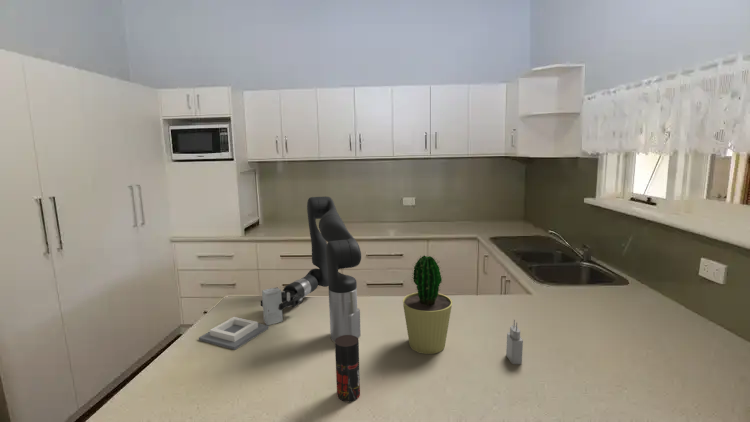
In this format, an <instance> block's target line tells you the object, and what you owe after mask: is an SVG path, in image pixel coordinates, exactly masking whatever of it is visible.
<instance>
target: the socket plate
mask: <svg viewBox="0 0 750 422" xmlns="http://www.w3.org/2000/svg"><path fill="white" fill-rule="evenodd" d="M269 326H270V325H266V324H262V323H260V322H259V321H256V320H255V321H254V320H250V319H245V318H241V317H237V316H232V317H231V318H229V319H227V320H225V321H224V322H222V323H220V324H218V325H216V326H215V327H213V328H211V329H209V331H208V332H207V333H204V334H202V335H201V336H199V337H198V341H199V342H204V343H208V344H211V345H216V346H220V347H222V348H226V349H230V350H234V351H236V350H237V349H238V348H240V347H242V346H243V345H246V344H247V343H248V342H250V341H251V340H253V339H254V338H256V337H257V336H259V335H261V334H262V333H264V332H265V331H266V330H268V329H270V327H269Z"/></svg>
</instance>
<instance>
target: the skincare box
mask: <svg viewBox="0 0 750 422" xmlns="http://www.w3.org/2000/svg"><path fill="white" fill-rule="evenodd" d="M281 291H282V290H281V289H280V288H279V287H277V286H276V287H271V288H267V289H263V290H261V296H262V297H261V298H262V299H261V300H263V306H262V314H263V323H265V325H268V326H270V325H274V324H278V323H282V322H283V320H284V319H283V317H284V316H283V310H279V304H281V303H282V297H281Z"/></svg>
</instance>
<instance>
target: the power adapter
mask: <svg viewBox="0 0 750 422" xmlns="http://www.w3.org/2000/svg"><path fill="white" fill-rule="evenodd" d="M523 345H524V339H523V338H522V336H521V330H520V328H519V327H518V322H516V320H515V319H513V325H510V326H509V331H507V333H506V347H505V348H506V349H505V350H506V351H505V355H506V357H507V358H508V360H509V362H510V363H511V364H513V365H522V363H523V349H524V348H523V347H524V346H523Z"/></svg>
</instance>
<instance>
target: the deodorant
mask: <svg viewBox="0 0 750 422" xmlns="http://www.w3.org/2000/svg"><path fill="white" fill-rule="evenodd" d="M359 342H360V340H359V337H358V338H357V337H356V336H353V335H343V336H340V337H338V338H336V340H335V342H334V355H335V374H336V375H335V379H336V397H337V399H338V400H339V401H341V402H344V403H351V402H355V401H356V400H358V399H359V398H360V397H361V381H360V380H361V378H360V375H361V374H360V372H361V371H360V349H359V346H360V345H359V344H360V343H359Z"/></svg>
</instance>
